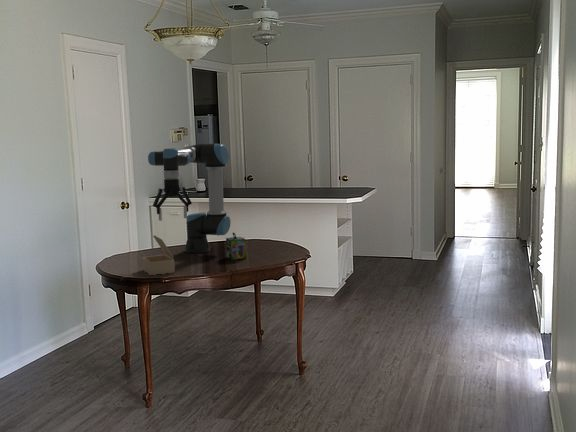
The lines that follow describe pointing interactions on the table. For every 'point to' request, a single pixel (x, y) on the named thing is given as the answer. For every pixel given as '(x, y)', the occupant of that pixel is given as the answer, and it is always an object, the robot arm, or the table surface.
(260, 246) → the table surface
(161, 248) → the lid
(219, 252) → the table surface
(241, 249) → the colorful juice box
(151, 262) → the box
